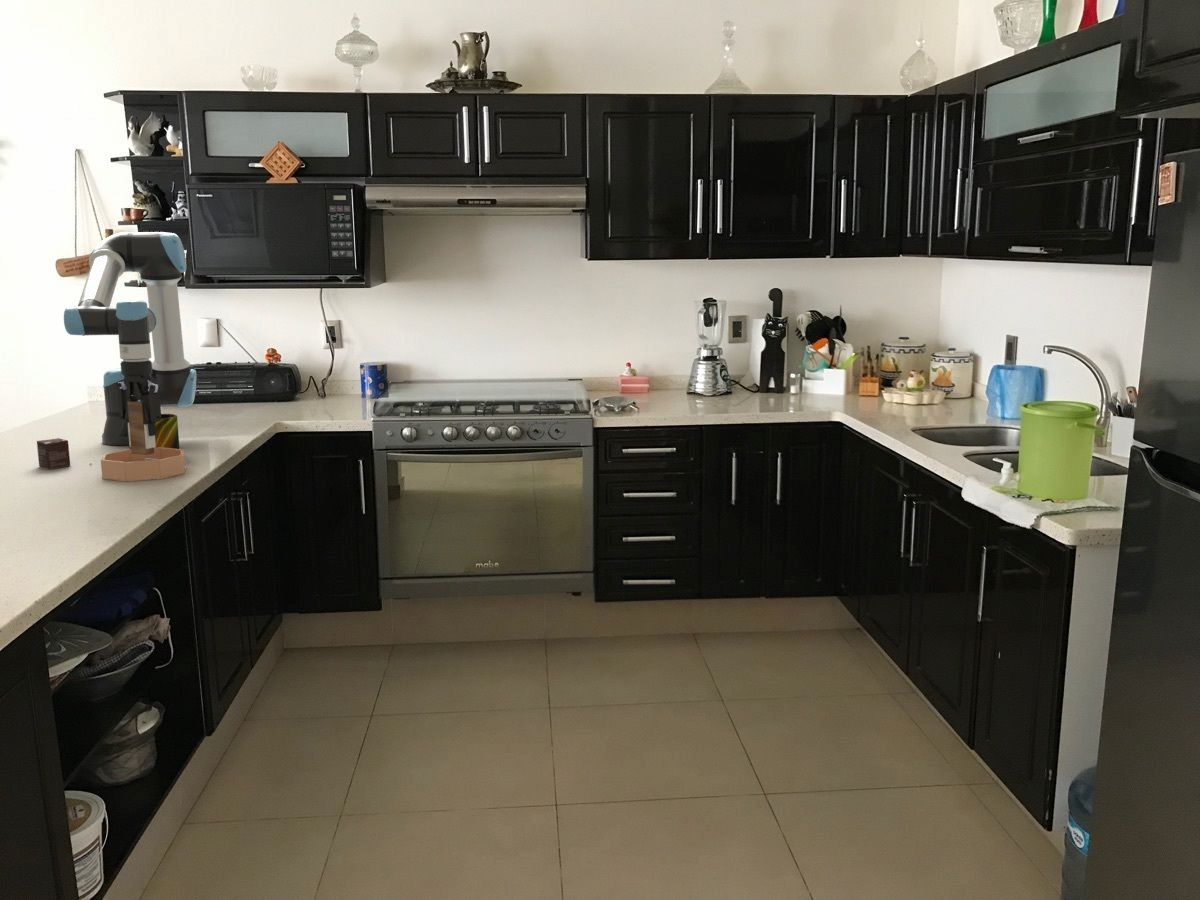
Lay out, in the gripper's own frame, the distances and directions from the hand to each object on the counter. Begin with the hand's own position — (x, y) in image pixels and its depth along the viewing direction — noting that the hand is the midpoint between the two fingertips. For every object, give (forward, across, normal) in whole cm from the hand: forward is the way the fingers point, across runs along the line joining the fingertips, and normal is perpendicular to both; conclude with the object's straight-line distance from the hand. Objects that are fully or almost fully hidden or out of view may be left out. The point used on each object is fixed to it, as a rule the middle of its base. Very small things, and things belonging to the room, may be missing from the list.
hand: (142, 446), depth 272 cm
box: (+7, -29, -4) cm, 30 cm away
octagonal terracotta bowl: (+7, 0, 0) cm, 7 cm away
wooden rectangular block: (+2, 0, 0) cm, 2 cm away
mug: (+7, -14, +17) cm, 24 cm away
